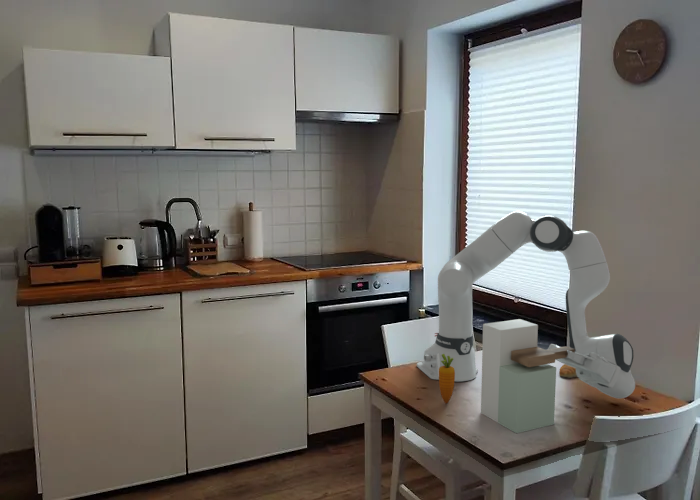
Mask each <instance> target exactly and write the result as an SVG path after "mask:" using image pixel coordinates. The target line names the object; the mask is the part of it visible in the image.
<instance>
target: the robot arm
mask: <svg viewBox="0 0 700 500" xmlns="http://www.w3.org/2000/svg"><path fill="white" fill-rule="evenodd" d="M531 243H532V244H534V246H536V247H537V248H538V250H540V251H541V250H542V251H543V252H547V253H553V252H560V253H561V254H563V256H564V257H565V260H566V263H567V266H568V271H569V275H570V277H569V278H570V283H569V288H568V289H567V290H566V293H565V307H566V309H565V312H566V318H567V319H566V320H567V327H568V328H567V329H568V337H569V338H568V339H569V341H568V342H569V344H568V345H569V346H568V347H570V348H573V349H575V353H574V352H572V351H569V350H567V351H566V353H565V356H566V358H561V359H555V361H557V362H559V363H562V365H564V364H566V365H568V366H571V367H574V368H576V374H577V377H576V378H578V379H579V380H580V381H582V382H583V383H585V384H587V385H589V386H590V387H592V388H596V390H598V391H599V392H601V393H603V394H605V395H607V396H609V397H612V398H615V399H625V398H627V397H629V396H630V395H631V394H633V393H634V391H635V388H636V380H635V378H634V377H633V375H632V371H631V368H632V366H633V365H632V364H633V362H634V348H633V347H632V344H631V343H630V342H629V340H628V339H627V338H626V337H625V336H624V335H622V334H620V333H612V334H611V333H610V334H605V335H600V336H592V337H590V336H589V335H588V332H587V331H588V330H587V329H588V328H587V321H586V308H587V306H588V304H589V303H590V302H591V301H592V300H593V299H595V298H597V296H599V295H600V294H602V293H603V292H604V291H605V290H606V289H607V287H608V285H609V283H610V281H611V274H610V270H609V265H608V262H607V258H606V256H605V252H604V249H603V247H602V245H601V243H600V241H599V239H598V237H597V234H595V233H593V232H592V231H589V230H579V231H578V230H577V231H573V230H572V229H571V228H570V227H569V225H567V223H566V222H565V221H564V220H562V219H561V218H559V217H557V216H556V215H555V216H554V215H551V214H550V215H542V216H540V217H538V218H536V219H533V218H532V217H531V216H530V215H528V214H527V213H525V212H523V211H521V210H515V211H512V212H510V213H508V214H506V215H505V216H503V217H502V218H501V219H499V220H498V221H497V222H495V223H494V224H493V225H492V226H490V227H488V228H487V230H485V231H484V232H483V233H481V234H480V235H479V236H478V237H477V238H475V239H474V240H473V242H471V243H469V245H467V246H466V247H464V248H463V249H462V250H460V252H458V253H457V254H456V255H454V256H453V257H452V258H451V259H449V260H448V261H447V262H446V263H445V264H444V265H443V267H442V268H441V270H440V271H439V273H438V276H437V295H438V296H437V299H438V332H435V333H434V337H436V339H435V342H434V343H433V344H431V346H428V348H425V350H424V353H423V360H421V361H418V362H417V363H416V367H417V368H418V369H419V370H420V371H422V373H424V374H425V375H426V376H427V377H428V378H429V379H431V380H437V381H439V368H440V367H441V366H445V365H444V364H443V363H442V362H441V360H442V361H443V360H444V359H443V357H442V354H445V356H446V359H447V362H448V358H447V356H450V359H451V358H453V361H452V362H451V364H450V366H451V367H453V368H454V370H455V380H454V382H467V381H471V380H473V379H476V377H477V373H478V372H479V368H478V367H476V366H477V363H476V350H475V348H474V347H473V346H474V340H475V339H474V334H473V285H474V283H476V282H477V281H478V280H479V279H481V278H482V277H484V276H485V275H487V274H488V273H489V272H491V271H492V270H494V269H495V268H497V267H498V266H500V264H501V263H503V262H504V261H506V259H508V258H509V257H510V256H511V255H513V254H514V253H515V252H517V251H518V250H519V249H520V248H521V247H523V246H525V245H526V244H531ZM559 347H561V346H559V345H557V344H554V343H550V344H549V346H548V348H547V349H553V348H559ZM444 363H445V362H444Z"/></svg>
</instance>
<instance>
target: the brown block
mask: <svg viewBox="0 0 700 500" xmlns="http://www.w3.org/2000/svg"><path fill="white" fill-rule="evenodd" d="M567 350H569V351H572V352H574V353H575V349H573V348H570V347H569V346H566V345H565V346H560V347H559V348H553V349H548V348H547V349H544V348H543V347H542V348H541V347H538V346H537V347H532V348H526V349H520V350H514V351H511V360H513V361H515V362H518V363H520V364H522V365H525V366H527V367H533V366H539V365H544V364H548V365H551V364H553V363H554V364H555V363H556V360H555V359H561V358H566V356H565V353H566V351H567Z"/></svg>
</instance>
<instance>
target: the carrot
mask: <svg viewBox="0 0 700 500" xmlns="http://www.w3.org/2000/svg"><path fill="white" fill-rule="evenodd" d="M442 357H443V359H444V360H443V361H442V360H441V362H442V363H443V364H444V365H445V366H441V367H440V368H439V380H438V381H439V382H438V385H439V391H440V395H441V399H442V401H443V403H444V404H445V405H447V404H448V403H449V402H450V400H451V398H452V395H453V392H454V387H455V381H454V380H455V370H454V368H453V367H451V366H450V364H451V362H452V361H453V358H451V359H450V356H447V358H448V362H447V359H446V356H445V354H442ZM444 362H445V363H444Z"/></svg>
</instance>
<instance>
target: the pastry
mask: <svg viewBox="0 0 700 500" xmlns="http://www.w3.org/2000/svg"><path fill="white" fill-rule="evenodd" d="M558 374H559V377H563V378H568V379H571V378H578V377H577V374H576V368H574V367H571V366H568V365H566V364H562V365H561V367H560V368H559V372H558Z"/></svg>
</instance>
